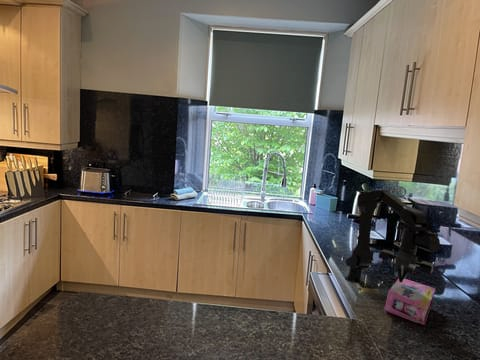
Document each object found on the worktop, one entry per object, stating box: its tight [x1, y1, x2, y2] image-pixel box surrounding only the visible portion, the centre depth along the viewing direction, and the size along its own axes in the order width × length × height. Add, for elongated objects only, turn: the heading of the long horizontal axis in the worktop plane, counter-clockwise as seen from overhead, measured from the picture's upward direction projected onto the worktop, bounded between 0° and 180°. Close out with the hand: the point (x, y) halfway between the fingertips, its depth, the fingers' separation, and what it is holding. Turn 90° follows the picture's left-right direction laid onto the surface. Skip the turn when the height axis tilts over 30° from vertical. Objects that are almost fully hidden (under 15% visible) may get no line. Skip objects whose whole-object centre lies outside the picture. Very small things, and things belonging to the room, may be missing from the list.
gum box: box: [383, 278, 436, 326], centre depth 138 cm, size 24×8×14 cm
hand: (400, 282), depth 140 cm, fingers closed
